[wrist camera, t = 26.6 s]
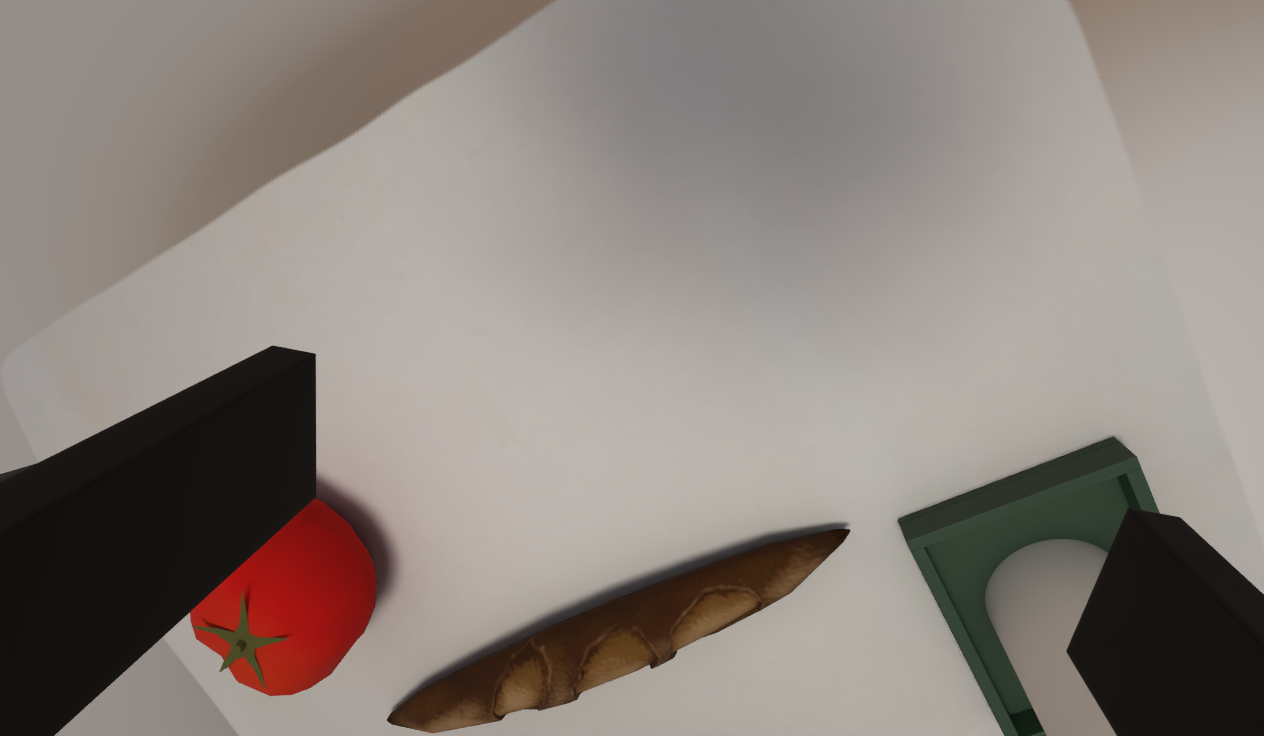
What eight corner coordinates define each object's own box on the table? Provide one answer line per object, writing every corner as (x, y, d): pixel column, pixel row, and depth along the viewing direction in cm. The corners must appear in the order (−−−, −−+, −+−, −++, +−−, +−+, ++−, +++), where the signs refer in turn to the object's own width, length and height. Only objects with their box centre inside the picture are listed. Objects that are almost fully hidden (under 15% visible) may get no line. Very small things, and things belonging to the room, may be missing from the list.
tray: (897, 519, 46) (906, 541, 44) (1113, 436, 43) (1136, 456, 40) (999, 720, 50) (1012, 751, 48) (1206, 659, 46) (1231, 690, 44)
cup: (1004, 663, 48) (1124, 915, 33) (968, 559, 46) (1078, 777, 31) (1141, 632, 46) (1336, 886, 31) (1110, 522, 44) (1302, 735, 29)
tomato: (374, 464, 50) (288, 547, 41) (418, 620, 54) (350, 729, 45) (228, 476, 52) (114, 558, 43) (282, 626, 56) (187, 732, 46)
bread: (409, 735, 58) (380, 790, 53) (372, 688, 57) (339, 740, 52) (865, 554, 47) (879, 603, 43) (830, 491, 46) (841, 534, 42)
